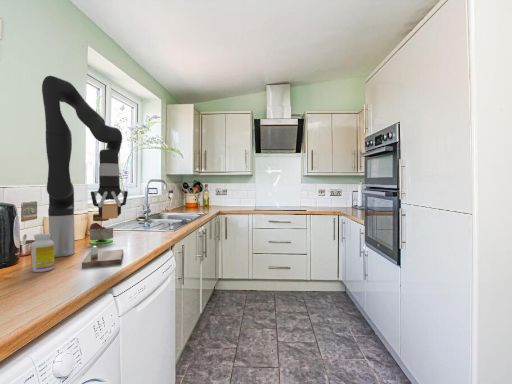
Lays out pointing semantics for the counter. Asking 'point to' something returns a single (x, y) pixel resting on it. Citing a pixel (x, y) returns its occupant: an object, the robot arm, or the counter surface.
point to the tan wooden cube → (109, 210)
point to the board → (104, 259)
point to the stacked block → (100, 231)
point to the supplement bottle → (42, 253)
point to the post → (94, 252)
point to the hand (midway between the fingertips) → (110, 215)
